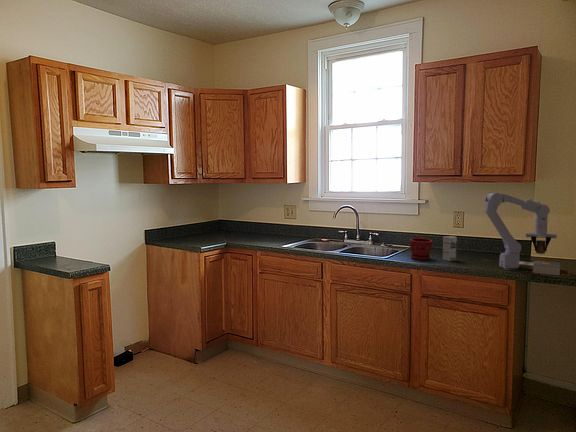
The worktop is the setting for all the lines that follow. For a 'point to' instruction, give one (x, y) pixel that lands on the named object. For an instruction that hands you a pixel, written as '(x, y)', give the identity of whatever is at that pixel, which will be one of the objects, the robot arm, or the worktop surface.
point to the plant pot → (420, 248)
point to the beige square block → (526, 263)
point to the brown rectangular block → (540, 247)
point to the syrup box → (449, 248)
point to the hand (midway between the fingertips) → (540, 250)
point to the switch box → (546, 268)
